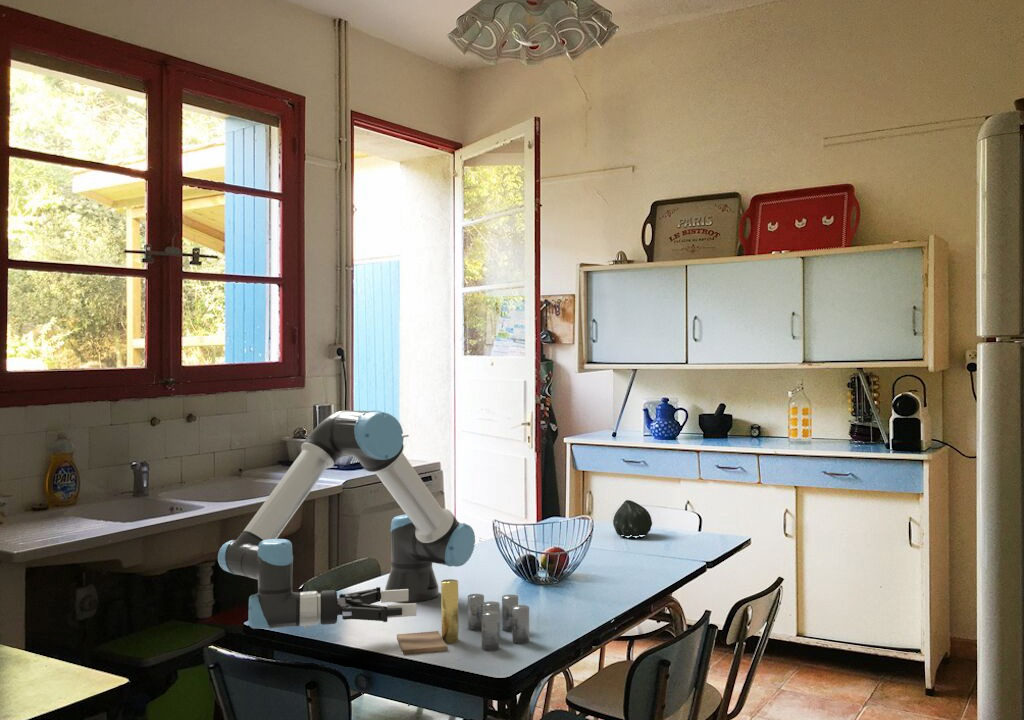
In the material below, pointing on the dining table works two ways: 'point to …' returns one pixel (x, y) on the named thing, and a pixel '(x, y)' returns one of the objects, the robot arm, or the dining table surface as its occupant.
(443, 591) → the cylinder
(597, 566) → the dining table surface
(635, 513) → the squash
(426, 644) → the board
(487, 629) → the spacers
